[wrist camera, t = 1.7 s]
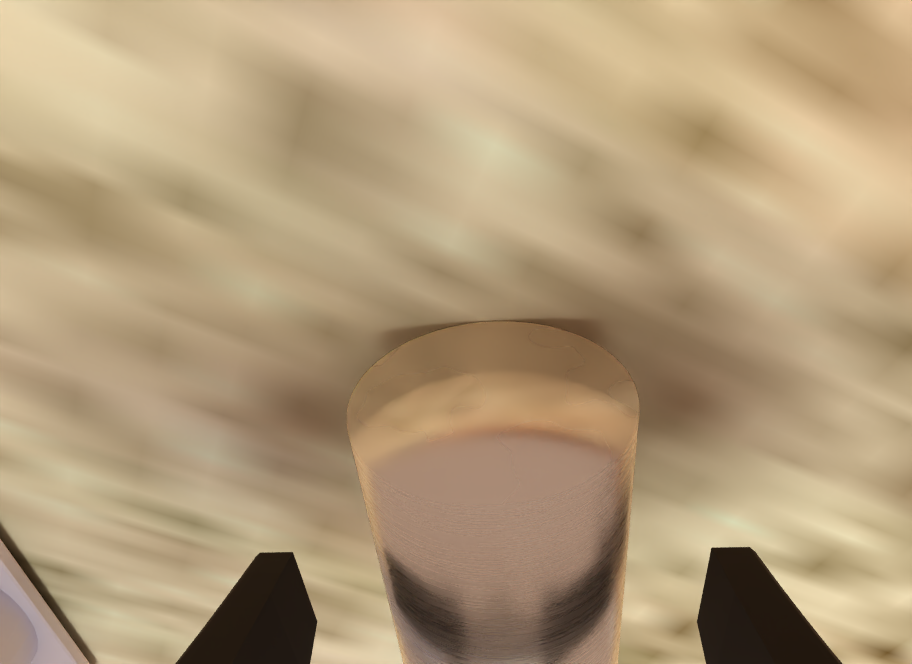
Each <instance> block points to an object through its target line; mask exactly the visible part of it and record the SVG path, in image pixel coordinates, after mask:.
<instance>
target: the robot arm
mask: <svg viewBox="0 0 912 664" xmlns="http://www.w3.org/2000/svg"><path fill="white" fill-rule="evenodd" d="M697 624H698V628H699V633H700V637H701V642H702V647H703V651H704V656H705V660H706V664H842V663H841V661H840V660H839V659H838V658H837V657H836V655H835V654H834V653H833V652H832V651H831V649H830V648H829V647H828V646H827V645H826V643H825V642H824V641H823V640H822V638H821V637H820V636H819V635H818V633H817V632H816V631H815V630H814V628H813V627H812V626H811V625H810V623H809V622H808V621H807V620H806V618H805V617H804V616H803V614H802V613H801V612H800V611H799V609H798V608H797V607H796V606H795V604H794V603H793V602H792V600H791V599H790V598H789V596H788V595H787V594H786V592H785V591H784V590H783V589H782V587H781V586H780V585H779V583H778V582H777V581H776V579H775V578H774V577H773V575H772V574H771V573H770V571H769V570H768V568H767V567H766V566H765V564H764V563H763V562H762V560H761V559H760V558H759V556H758V555H757V553H756V552H755V551H754V550H752V549H751V548H750V547H728V548H711V553H710V558H709V563H708V569H707V574H706V579H705V584H704V589H703V594H702V599H701V604H700V609H699V614H698V619H697ZM316 626H317V620H316V617H315V614H314V611H313V608H312V605H311V602H310V600H309V597H308V594H307V591H306V588H305V585H304V583H303V580H302V577H301V574H300V571H299V568H298V565H297V563H296V560H295V557H294V554H293V552H275V553H259V554H258V555H257V556H256V557H255V559H254V560H253V561H252V563H251V564H250V565H249V567H248V568H247V570H246V571H245V572H244V574H243V575H242V576H241V578H240V579H239V581H238V582H237V583H236V585H235V586H234V587H233V589H232V590H231V591H230V593H229V594H228V596H227V597H226V598H225V600H224V601H223V602H222V604H221V605H220V606H219V608H218V609H217V610H216V612H215V613H214V614H213V616H212V617H211V618H210V620H209V621H208V622H207V624H206V625H205V626H204V628H203V629H202V630H201V632H200V633H199V634H198V636H197V637H196V638H195V639H194V641H193V642H192V643H191V644H190V646H189V647H188V648H187V650H186V651H185V652H184V653H183V655H182V656H181V657H180V659H179V660H178V661H177V662H176V664H310V660H311V655H312V649H313V643H314V637H315V631H316ZM0 664H90V663H89V662H88V660H87V659H86V658H85V656H84V655H83V653H82V652H81V651H80V649H79V648H78V647H77V645H76V644H75V642H74V641H73V640H72V638H71V637H70V635H69V634H68V633H67V631H66V630H65V628H64V627H63V626H62V624H61V623H60V621H59V620H58V619H57V617H56V616H55V614H54V613H53V612H52V610H51V609H50V608H49V606H48V605H47V603H46V602H45V601H44V599H43V598H42V596H41V595H40V594H39V592H38V591H37V589H36V588H35V587H34V585H33V584H32V582H31V581H30V580H29V578H28V577H27V575H26V574H25V573H24V571H23V570H22V569H21V567H20V566H19V564H18V563H17V562H16V560H15V559H14V557H13V556H12V555H11V553H10V552H9V550H8V549H7V548H6V546H5V545H4V543H3V542H2V541H1V539H0Z"/></svg>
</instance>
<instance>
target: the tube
mask: <svg viewBox="0 0 912 664" xmlns="http://www.w3.org/2000/svg"><path fill="white" fill-rule="evenodd" d="M346 419H347V430H348V434H349V438H350V443H351V447H352V451H353V455H354V459H355V463H356V468H357V472H358V476H359V480H360V484H361V489H362V493H363V497H364V501H365V505H366V509H367V514H368V518H369V522H370V526H371V530H372V534H373V539H374V543H375V547H376V551H377V555H378V560H379V564H380V568H381V572H382V576H383V580H384V585H385V589H386V593H387V597H388V601H389V605H390V610H391V614H392V618H393V622H394V626H395V631H396V635H397V639H398V643H399V647H400V651H401V656H402V660H403V664H618V654H619V642H620V630H621V619H622V607H623V595H624V584H625V572H626V560H627V549H628V537H629V526H630V514H631V502H632V491H633V479H634V467H635V456H636V444H637V432H638V421H639V396H638V393H637V390H636V386H635V384H634V382H633V380H632V378H631V376H630V374H629V373H628V372H627V370H626V369H625V368H624V366H623V365H622V364H621V363H620V362H619V361H618V360H617V359H616V358H615V357H614V356H613V355H612V354H610V353H609V352H608V351H606V350H605V349H604V348H602V347H601V346H599V345H597V344H595V343H594V342H592V341H590V340H588V339H586V338H584V337H581V336H579V335H577V334H574V333H571V332H568V331H565V330H562V329H559V328H555V327H551V326H546V325H540V324H535V323H526V322H514V321H492V322H478V323H469V324H463V325H458V326H453V327H449V328H445V329H441V330H437V331H434V332H431V333H428V334H425V335H423V336H420V337H418V338H415V339H413V340H411V341H409V342H407V343H405V344H403V345H401V346H399V347H397V348H396V349H394V350H392V351H391V352H389V353H388V354H386V355H385V356H384V357H382V358H381V359H380V360H378V361H377V362H376V363H375V364H374V365H373V366H372V367H371V368H370V369H369V370H368V371H367V372H366V373H365V374H364V375H363V377H362V378H361V379H360V380H359V382H358V383H357V385H356V387H355V389H354V390H353V392H352V395H351V398H350V400H349V403H348V408H347V415H346Z"/></svg>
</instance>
